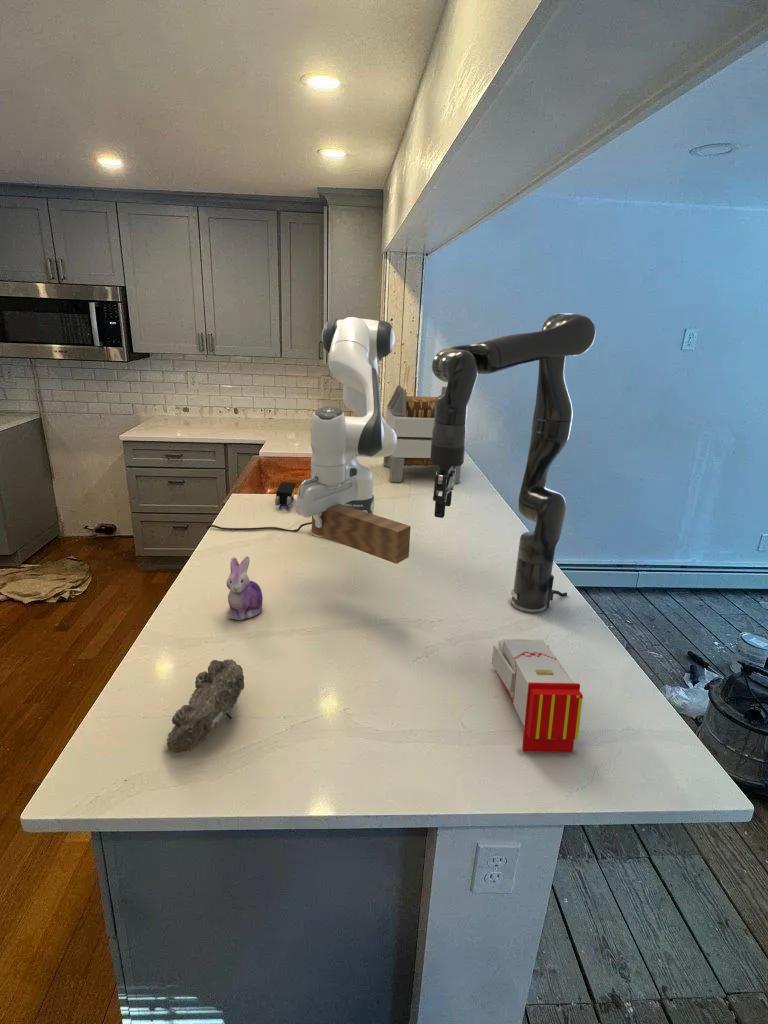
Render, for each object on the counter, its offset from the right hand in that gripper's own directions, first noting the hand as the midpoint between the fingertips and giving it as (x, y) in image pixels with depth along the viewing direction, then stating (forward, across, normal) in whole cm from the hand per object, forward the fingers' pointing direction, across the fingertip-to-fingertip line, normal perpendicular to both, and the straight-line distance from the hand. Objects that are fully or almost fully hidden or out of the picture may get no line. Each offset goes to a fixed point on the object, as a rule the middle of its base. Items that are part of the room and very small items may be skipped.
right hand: (442, 511), depth 131 cm
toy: (+31, -22, -24) cm, 45 cm away
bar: (+13, +3, +21) cm, 25 cm away
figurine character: (+31, +70, +73) cm, 106 cm away
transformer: (+31, +137, +34) cm, 145 cm away
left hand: (+10, +7, +31) cm, 33 cm away
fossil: (+31, -46, +34) cm, 65 cm away
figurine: (+31, -9, +47) cm, 57 cm away
